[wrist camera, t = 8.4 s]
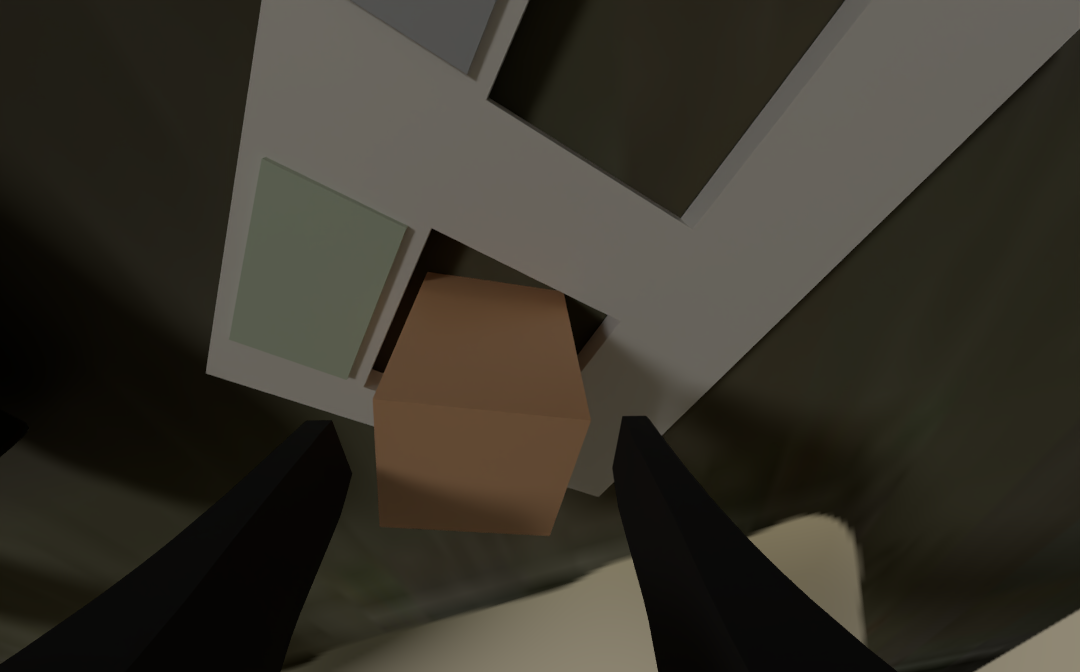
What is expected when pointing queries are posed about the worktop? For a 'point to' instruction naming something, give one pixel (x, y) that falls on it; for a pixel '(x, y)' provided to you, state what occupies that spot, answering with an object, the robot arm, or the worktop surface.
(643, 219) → the panel
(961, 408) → the worktop surface
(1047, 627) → the worktop surface
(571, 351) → the plug
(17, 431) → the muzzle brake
